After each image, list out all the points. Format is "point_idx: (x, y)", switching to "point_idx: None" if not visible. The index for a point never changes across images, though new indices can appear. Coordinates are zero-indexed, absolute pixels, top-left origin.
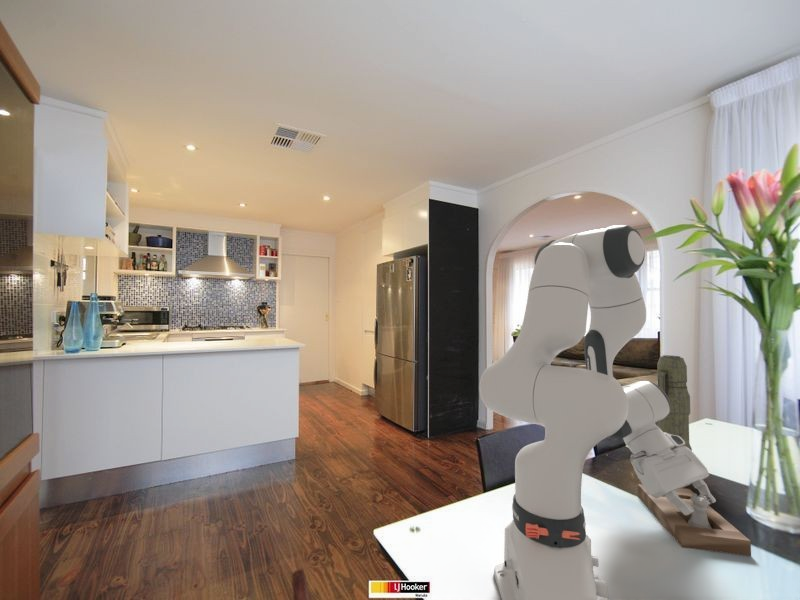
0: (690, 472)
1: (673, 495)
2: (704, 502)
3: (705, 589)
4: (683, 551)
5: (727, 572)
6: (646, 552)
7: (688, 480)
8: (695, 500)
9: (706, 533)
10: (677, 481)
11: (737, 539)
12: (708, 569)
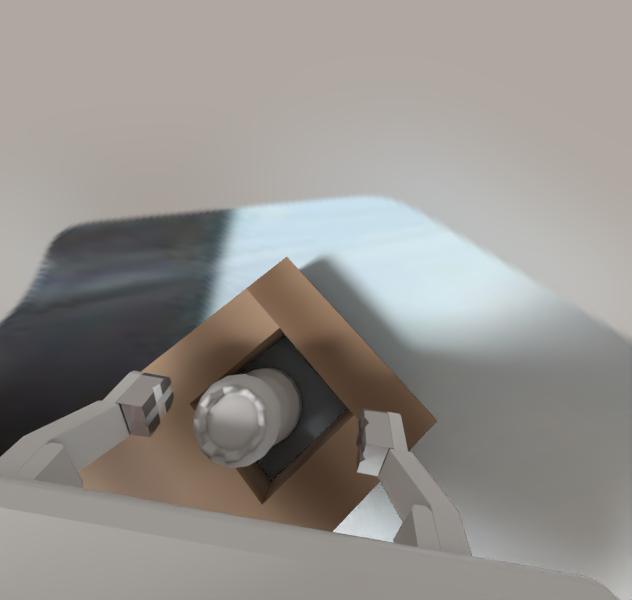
0: (19, 584)
1: (460, 531)
2: (259, 389)
3: (562, 312)
4: (435, 403)
5: (433, 296)
6: (555, 481)
7: (195, 532)
8: (270, 431)
9: (359, 359)
10: (365, 596)
11: (310, 284)
12: (465, 329)
